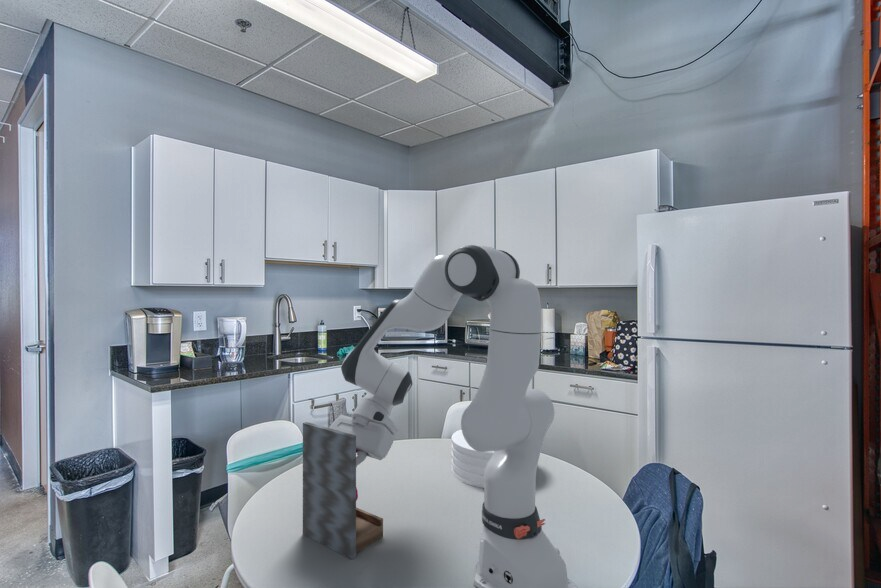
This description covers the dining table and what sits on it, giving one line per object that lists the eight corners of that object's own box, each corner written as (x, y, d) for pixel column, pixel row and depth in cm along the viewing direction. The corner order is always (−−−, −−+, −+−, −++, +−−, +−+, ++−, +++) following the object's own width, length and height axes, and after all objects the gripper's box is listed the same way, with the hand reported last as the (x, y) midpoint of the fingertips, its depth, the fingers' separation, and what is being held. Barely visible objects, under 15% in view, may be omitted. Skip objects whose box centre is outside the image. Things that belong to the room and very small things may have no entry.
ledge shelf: (385, 537, 111) (386, 425, 111) (352, 559, 102) (352, 436, 101) (337, 516, 121) (337, 413, 121) (302, 534, 112) (302, 423, 112)
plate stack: (486, 497, 133) (486, 459, 133) (435, 466, 156) (435, 433, 156) (552, 476, 148) (552, 441, 148) (497, 451, 172) (497, 421, 172)
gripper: (336, 405, 123) (307, 450, 115) (392, 418, 111) (363, 470, 103) (348, 417, 126) (321, 462, 119) (403, 431, 114) (376, 482, 107)
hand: (341, 466), depth 111 cm, fingers closed on pepper mill, 5 cm apart
